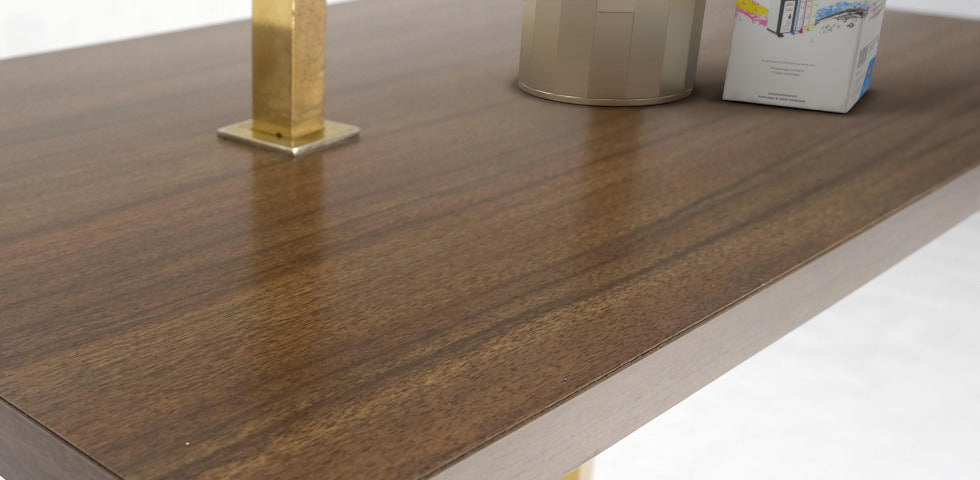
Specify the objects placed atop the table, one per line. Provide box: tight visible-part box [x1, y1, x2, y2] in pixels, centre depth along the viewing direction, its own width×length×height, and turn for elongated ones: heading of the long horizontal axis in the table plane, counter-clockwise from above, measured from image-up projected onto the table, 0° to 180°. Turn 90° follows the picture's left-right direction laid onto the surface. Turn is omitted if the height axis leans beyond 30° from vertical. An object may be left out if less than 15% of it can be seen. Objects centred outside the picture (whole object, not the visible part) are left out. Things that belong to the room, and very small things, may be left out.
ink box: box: [721, 0, 887, 114], centre depth 82 cm, size 9×8×12 cm
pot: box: [517, 0, 707, 107], centre depth 86 cm, size 13×18×8 cm
